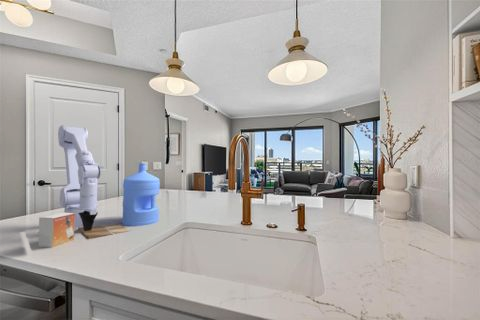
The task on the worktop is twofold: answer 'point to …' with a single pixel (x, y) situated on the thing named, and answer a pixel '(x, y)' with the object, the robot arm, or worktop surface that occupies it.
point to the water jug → (140, 198)
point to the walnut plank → (95, 232)
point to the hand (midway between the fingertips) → (87, 230)
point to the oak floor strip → (116, 228)
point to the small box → (56, 229)
